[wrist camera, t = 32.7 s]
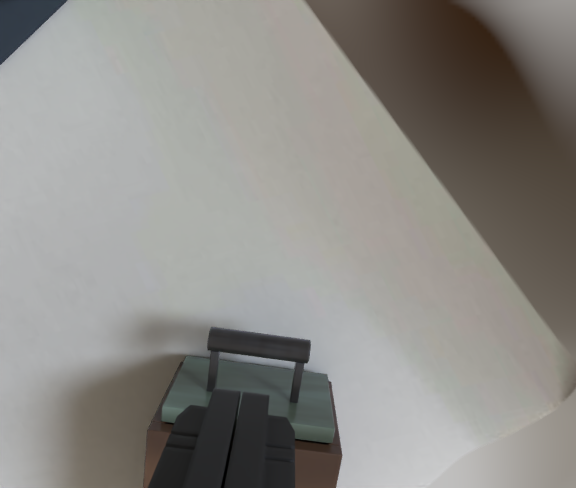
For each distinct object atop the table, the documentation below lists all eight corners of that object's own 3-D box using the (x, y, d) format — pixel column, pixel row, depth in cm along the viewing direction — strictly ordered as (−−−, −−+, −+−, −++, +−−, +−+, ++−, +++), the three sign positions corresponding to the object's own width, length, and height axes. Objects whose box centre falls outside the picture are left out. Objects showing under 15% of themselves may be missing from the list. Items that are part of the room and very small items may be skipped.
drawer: (191, 300, 34) (167, 340, 28) (337, 320, 35) (347, 364, 28) (172, 501, 39) (147, 577, 32) (300, 517, 39) (302, 596, 33)
